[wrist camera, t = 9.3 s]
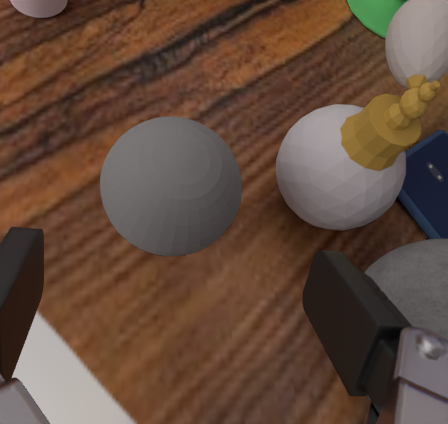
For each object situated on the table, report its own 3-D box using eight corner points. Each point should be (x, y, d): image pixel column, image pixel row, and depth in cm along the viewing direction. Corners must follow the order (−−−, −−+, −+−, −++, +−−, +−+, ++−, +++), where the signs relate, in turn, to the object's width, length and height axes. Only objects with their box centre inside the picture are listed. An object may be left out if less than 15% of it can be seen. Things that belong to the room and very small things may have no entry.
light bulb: (161, 168, 25) (186, 61, 16) (227, 237, 25) (291, 167, 16) (82, 227, 23) (59, 141, 14) (153, 306, 22) (178, 270, 13)
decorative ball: (477, 412, 25) (686, 443, 16) (334, 451, 22) (488, 517, 13) (427, 254, 28) (578, 203, 19) (295, 271, 25) (398, 221, 16)
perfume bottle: (268, 244, 25) (383, 158, 14) (251, 110, 28) (335, -44, 18) (372, 241, 27) (543, 164, 16) (345, 116, 30) (474, -19, 19)
